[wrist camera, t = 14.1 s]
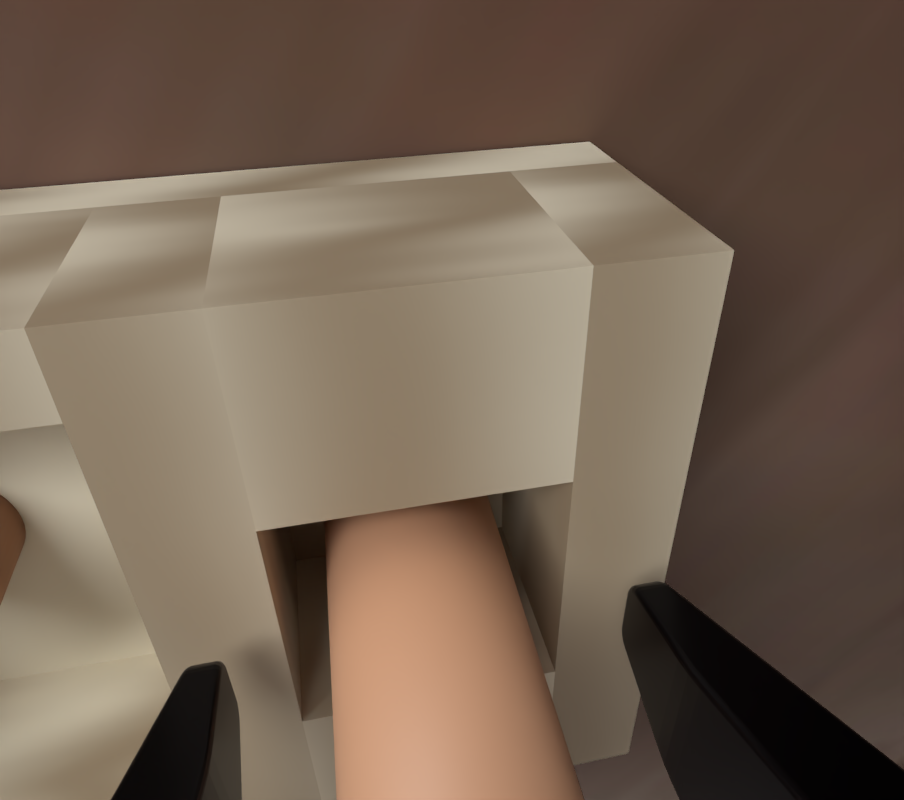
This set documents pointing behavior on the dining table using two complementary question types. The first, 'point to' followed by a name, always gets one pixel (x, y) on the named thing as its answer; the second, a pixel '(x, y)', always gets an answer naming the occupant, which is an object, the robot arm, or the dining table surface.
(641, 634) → the robot arm
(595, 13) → the dining table surface
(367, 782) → the peg
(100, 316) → the wooden compartment tray
